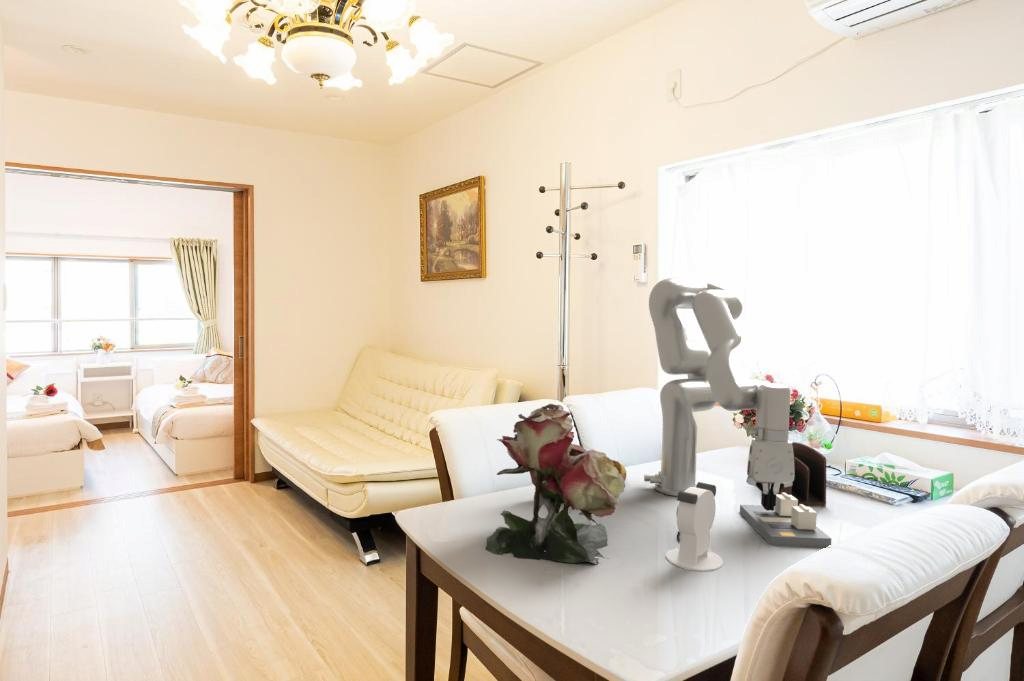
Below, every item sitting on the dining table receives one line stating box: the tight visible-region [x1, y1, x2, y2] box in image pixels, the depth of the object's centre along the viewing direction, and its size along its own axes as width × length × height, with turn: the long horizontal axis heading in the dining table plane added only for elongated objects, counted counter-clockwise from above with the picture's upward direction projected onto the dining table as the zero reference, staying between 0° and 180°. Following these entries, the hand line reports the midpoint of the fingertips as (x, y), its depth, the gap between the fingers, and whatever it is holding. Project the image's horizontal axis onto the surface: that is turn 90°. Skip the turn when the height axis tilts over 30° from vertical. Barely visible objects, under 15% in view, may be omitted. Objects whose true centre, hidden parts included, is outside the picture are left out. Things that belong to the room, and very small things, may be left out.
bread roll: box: [611, 459, 627, 481], centre depth 188 cm, size 13×10×8 cm
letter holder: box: [768, 441, 827, 507], centre depth 179 cm, size 10×20×14 cm, turn 1°
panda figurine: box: [665, 481, 724, 572], centre depth 132 cm, size 12×11×15 cm
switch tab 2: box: [791, 504, 818, 530], centre depth 147 cm, size 4×4×5 cm
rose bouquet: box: [485, 403, 626, 565], centre depth 141 cm, size 26×29×30 cm
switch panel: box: [739, 504, 832, 548], centre depth 152 cm, size 13×22×2 cm, turn 178°
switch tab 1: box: [774, 493, 798, 516], centre depth 156 cm, size 4×4×5 cm
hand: (768, 508), depth 156 cm, fingers closed
